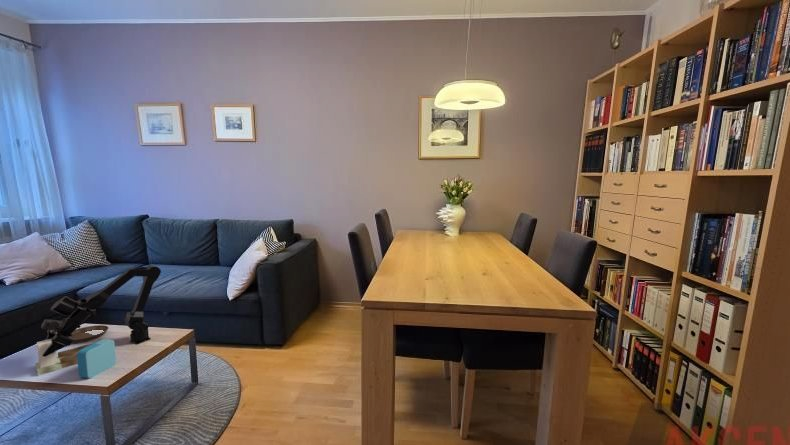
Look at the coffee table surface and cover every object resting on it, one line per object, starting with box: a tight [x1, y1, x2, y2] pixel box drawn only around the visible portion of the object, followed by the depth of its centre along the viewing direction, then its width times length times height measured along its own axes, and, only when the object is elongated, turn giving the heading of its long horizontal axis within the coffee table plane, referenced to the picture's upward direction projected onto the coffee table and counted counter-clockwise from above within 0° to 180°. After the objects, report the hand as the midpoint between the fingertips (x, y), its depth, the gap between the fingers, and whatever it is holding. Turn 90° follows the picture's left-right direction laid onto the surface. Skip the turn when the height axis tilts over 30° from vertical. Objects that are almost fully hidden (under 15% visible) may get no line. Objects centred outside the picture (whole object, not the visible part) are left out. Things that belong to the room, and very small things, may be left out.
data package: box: [77, 338, 117, 379], centre depth 138 cm, size 12×4×12 cm, turn 173°
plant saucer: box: [71, 324, 109, 344], centre depth 169 cm, size 18×18×3 cm
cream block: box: [36, 338, 58, 368], centre depth 140 cm, size 5×5×10 cm
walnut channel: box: [34, 341, 97, 377], centre depth 147 cm, size 23×10×4 cm, turn 142°
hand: (42, 352), depth 139 cm, fingers open, 9 cm apart
